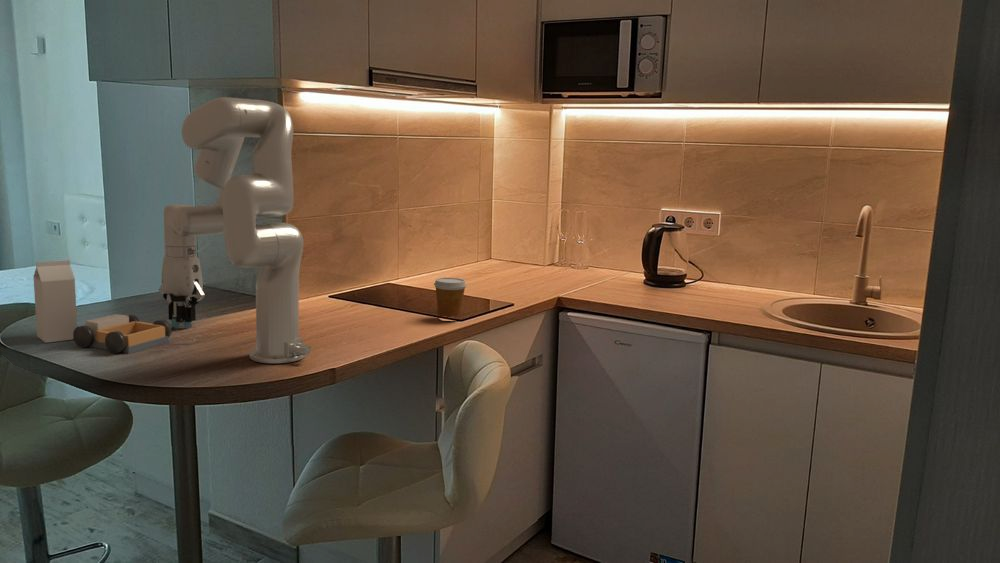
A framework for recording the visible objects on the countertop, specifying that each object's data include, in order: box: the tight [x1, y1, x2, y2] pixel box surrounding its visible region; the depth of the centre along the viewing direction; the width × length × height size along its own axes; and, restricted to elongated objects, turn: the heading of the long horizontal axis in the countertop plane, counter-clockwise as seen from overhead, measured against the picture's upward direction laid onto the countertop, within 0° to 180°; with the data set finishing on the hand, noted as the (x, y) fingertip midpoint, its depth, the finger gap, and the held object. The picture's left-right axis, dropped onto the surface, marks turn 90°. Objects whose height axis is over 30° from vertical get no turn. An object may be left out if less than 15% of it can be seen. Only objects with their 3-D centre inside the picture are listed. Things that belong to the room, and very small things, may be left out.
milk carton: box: [32, 259, 78, 344], centre depth 181 cm, size 7×7×19 cm
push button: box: [170, 291, 199, 330], centre depth 198 cm, size 7×5×10 cm
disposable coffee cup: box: [433, 277, 467, 317], centre depth 222 cm, size 10×10×12 cm
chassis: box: [73, 313, 172, 354], centre depth 181 cm, size 16×15×6 cm
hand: (182, 319), depth 198 cm, fingers closed on push button, 4 cm apart
